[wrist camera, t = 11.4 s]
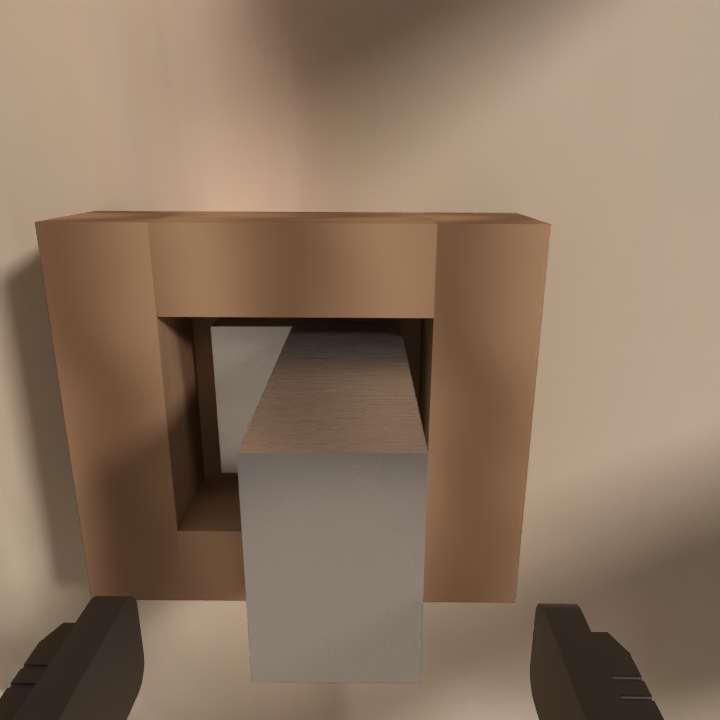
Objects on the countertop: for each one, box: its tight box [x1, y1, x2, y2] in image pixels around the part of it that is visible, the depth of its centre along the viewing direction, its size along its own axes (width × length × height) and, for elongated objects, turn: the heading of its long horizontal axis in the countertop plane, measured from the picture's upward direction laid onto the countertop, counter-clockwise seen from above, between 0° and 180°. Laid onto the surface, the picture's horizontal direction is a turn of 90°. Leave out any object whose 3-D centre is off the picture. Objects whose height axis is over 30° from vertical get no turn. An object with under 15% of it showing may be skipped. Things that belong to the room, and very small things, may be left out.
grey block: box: [211, 317, 428, 683], centre depth 20 cm, size 7×6×12 cm
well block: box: [35, 211, 551, 603], centre depth 24 cm, size 16×14×4 cm
